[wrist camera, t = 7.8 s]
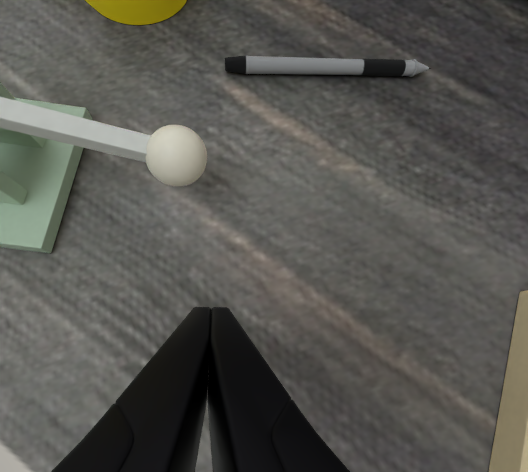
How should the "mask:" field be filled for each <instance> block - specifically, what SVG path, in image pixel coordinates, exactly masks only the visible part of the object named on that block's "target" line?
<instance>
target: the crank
mask: <svg viewBox="0 0 528 472" xmlns="http://www.w3.org/2000/svg"><path fill="white" fill-rule="evenodd" d="M85 1H86V2H87V3H88V4H90V5H91V6H92V7H93V8H94V9H96V10H97V11H98V12H99V13H100V14H102V15H103V16H105V17H107V18H109V19H111V20H113V21H116V22H119V23H124V24H130V25H147V24H153V23H157V22H160V21H163V20H165V19H168V18H169V17H171V16H173V15H174V14H176V13H177V12H178V11H179V10H180V9H181V8H182V7H183V6H184V5H185V3H186V1H187V0H85Z"/></svg>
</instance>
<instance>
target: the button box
mask: <svg viewBox="0 0 528 472" xmlns="http://www.w3.org/2000/svg"><path fill="white" fill-rule="evenodd" d="M489 472H528V290H527V291H522V292H520V293H519V299H518V305H517V310H516V316H515V322H514V328H513V333H512V339H511V345H510V351H509V356H508V362H507V368H506V374H505V380H504V385H503V391H502V397H501V403H500V408H499V414H498V420H497V426H496V431H495V437H494V443H493V449H492V454H491V460H490V466H489Z"/></svg>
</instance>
